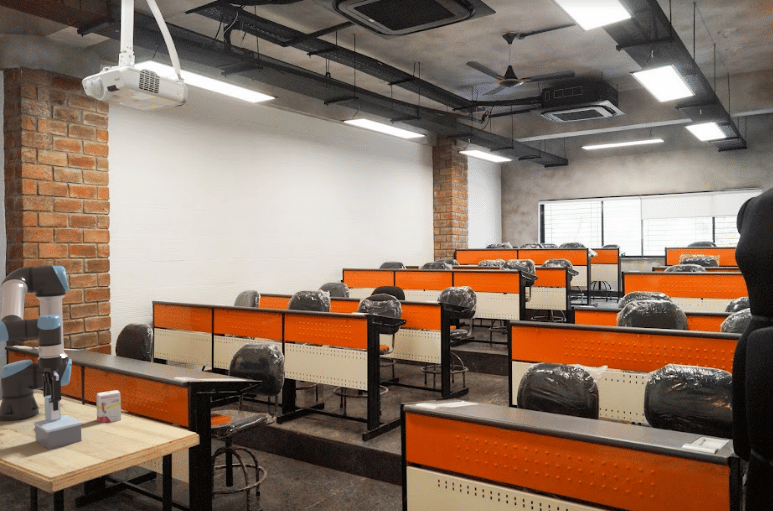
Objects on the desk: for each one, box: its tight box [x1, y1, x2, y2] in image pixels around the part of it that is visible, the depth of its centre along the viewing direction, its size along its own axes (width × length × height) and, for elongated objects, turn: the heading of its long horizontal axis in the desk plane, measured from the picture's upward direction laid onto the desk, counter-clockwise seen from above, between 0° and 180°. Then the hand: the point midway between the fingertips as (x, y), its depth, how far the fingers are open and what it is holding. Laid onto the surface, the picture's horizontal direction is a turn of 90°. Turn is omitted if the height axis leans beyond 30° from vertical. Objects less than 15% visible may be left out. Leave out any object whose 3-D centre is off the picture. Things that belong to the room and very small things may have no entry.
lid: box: [33, 395, 83, 433], centre depth 212 cm, size 15×12×11 cm
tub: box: [34, 424, 83, 450], centre depth 212 cm, size 14×11×7 cm
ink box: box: [96, 389, 122, 424], centre depth 238 cm, size 9×5×12 cm, turn 127°
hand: (52, 417), depth 215 cm, fingers open, 4 cm apart
